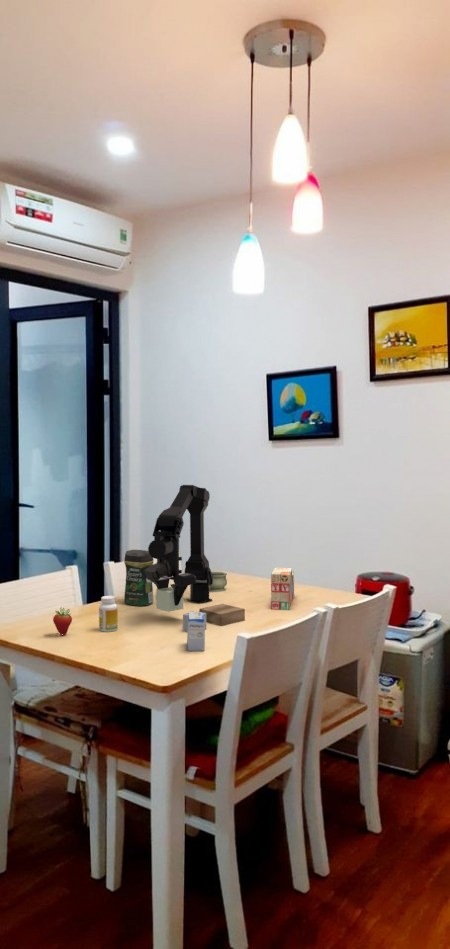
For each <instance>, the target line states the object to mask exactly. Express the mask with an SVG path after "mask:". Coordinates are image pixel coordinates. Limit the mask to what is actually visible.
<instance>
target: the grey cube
mask: <svg viewBox="0 0 450 949" xmlns="http://www.w3.org/2000/svg"><path fill="white" fill-rule="evenodd" d="M190 612H196V611H195V610H193V611H192V610H191V611H190ZM203 614H204V619H205V631H207V622H206V613H203ZM182 632H186V633H187V632H188V612H186V613H183V614H182Z"/></svg>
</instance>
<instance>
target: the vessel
mask: <svg viewBox="0 0 450 949" xmlns="http://www.w3.org/2000/svg"><path fill="white" fill-rule="evenodd" d="M211 572H212V575H213V584H211V585H209V593H219V592H220V593H221V592H225V591H226V588H225V587H226V586H227V585H228V579H227V575H228V574H227V572H222V571H211Z"/></svg>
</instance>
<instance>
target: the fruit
mask: <svg viewBox="0 0 450 949" xmlns="http://www.w3.org/2000/svg"><path fill="white" fill-rule="evenodd" d="M70 610H71V609H69V608H68V609H65V607H60V609H59V611H58V610H54V613H56V614H55V615H54V616H53V618H52V622H53V624H54V626H55V628H56V631H57V632H58V633H59V634H60V635H61V634H63V635H62V636H65V634H66V635H67V633H68V631H69V627H70V626H71V624H72V620H73V617H72V616H71V615H72V613H70Z"/></svg>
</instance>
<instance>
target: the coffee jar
mask: <svg viewBox="0 0 450 949" xmlns="http://www.w3.org/2000/svg"><path fill="white" fill-rule="evenodd" d="M153 564H154V558H153V557H152V556H151V555H150V554H149V552H148V550H144V549H129V550H126V551H125V554H124V566H125V585H124V586H125V587H124V604H127V605H131V606H137V607H143V606H150V605H152V604H153V602H154V590H153V582H151V581H150V580H147V578H145V569H147V568H148V567H150V566H152V565H153Z"/></svg>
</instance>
